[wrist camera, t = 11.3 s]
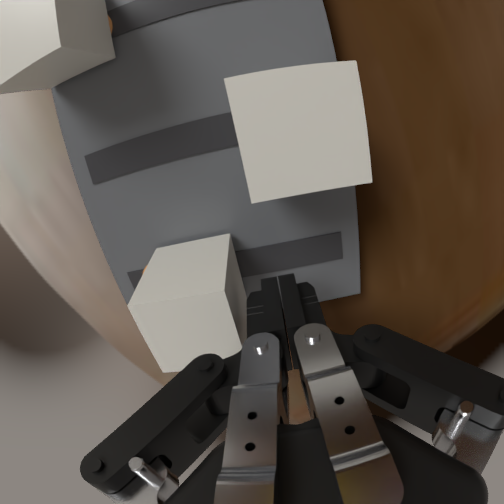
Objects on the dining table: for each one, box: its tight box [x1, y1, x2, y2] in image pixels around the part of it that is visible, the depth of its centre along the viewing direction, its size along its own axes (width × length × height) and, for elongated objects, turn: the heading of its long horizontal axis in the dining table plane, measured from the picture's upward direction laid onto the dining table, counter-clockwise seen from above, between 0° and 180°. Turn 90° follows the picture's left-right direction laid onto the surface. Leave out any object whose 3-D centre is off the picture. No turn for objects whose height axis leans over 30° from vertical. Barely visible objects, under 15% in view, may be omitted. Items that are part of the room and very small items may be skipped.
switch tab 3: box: [224, 61, 372, 204], centre depth 11 cm, size 4×4×5 cm
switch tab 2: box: [128, 233, 247, 373], centre depth 15 cm, size 4×4×5 cm
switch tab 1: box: [0, 0, 116, 94], centre depth 9 cm, size 4×4×5 cm
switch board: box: [51, 0, 360, 307], centre depth 14 cm, size 14×21×2 cm, turn 12°
